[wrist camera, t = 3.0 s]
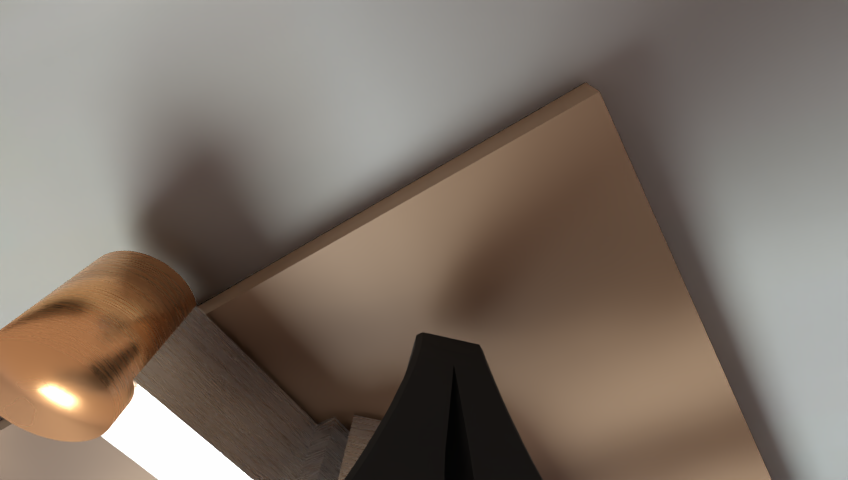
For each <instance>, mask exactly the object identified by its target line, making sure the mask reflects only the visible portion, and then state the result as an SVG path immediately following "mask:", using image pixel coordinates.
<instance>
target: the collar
mask: <svg viewBox="0 0 848 480" xmlns="http://www.w3.org/2000/svg"><path fill="white" fill-rule="evenodd" d="M0 416H1V417H3V418H4V419H6V420H7V421H9V422H10V423H12V424H14V425H16V426H17V427H19V428H21V429H24V430H26V431H28V432H30V433H33V434H35V435H38V436H42V437H45V438H49V439H53V440H58V441H66V442H82V441H88V440H92V439H95V438H98V437H100V436H102V437H103V438H104V439H106V440H107V441H108V442H110V443H111V444H112V445H114V446H115V447H116V448H118V449H119V450H120V451H122V452H123V453H124V454H126V455H127V456H128V457H130V458H131V459H132V460H134V461H135V462H136V463H138V464H139V465H140V466H142V467H143V468H144V469H145V470H147V471H148V472H149V473H151V474H152V475H153V476H155V477H156V478H157V479H159V480H344V479H345V477H346V476H347V475H348V473H349V472H350V470H351V469H352V467H353V466H354V464H355V463H356V461H357V460H358V458H359V457H360V455H361V454H362V452H363V450H364V449H365V447H366V446H367V444H368V442H369V441H370V439H371V437H372V436H373V434H374V432H375V431H376V429H377V427H378V426H379V424H380V422H381V421H380V420H376V419H371V418H366V417H362V416H357V415H354V417H353V421H352V425H351V429H350V430H349V429H348V428H347V427H346V426H345V425H344V424H343V423H342V422H341V421H340V420H339V419H338V418H337V417H336V416H335V417H332V418H330V419H328V420H325V421H323V422H320V423H318V424H317V423H316V422H315V421H314V420H313V419H312V418H311V417H309V416H308V415H307V414H306V413H305V412H304V411H303V410H302V409H301V408H300V407H299V406H298V405H297V404H296V403H295V402H294V401H293V400H292V399H291V398H290V397H289V396H288V395H287V394H286V393H285V392H284V391H283V390H282V389H281V388H280V387H279V386H278V385H277V384H276V383H275V382H274V381H273V380H272V379H271V378H270V377H269V376H268V375H267V374H266V373H265V372H264V371H263V370H262V369H261V368H260V367H259V366H258V365H256V364H255V363H254V362H253V361H252V360H251V359H250V358H249V357H248V356H247V355H246V354H245V353H244V352H243V351H242V350H241V349H240V348H239V347H238V346H237V345H236V344H235V343H234V342H233V341H232V340H231V339H230V338H229V337H228V336H227V335H226V334H225V333H224V332H223V331H222V330H221V329H220V328H219V327H218V326H217V325H216V324H215V323H214V322H213V321H212V320H211V319H210V318H209V317H208V316H207V315H206V314H205V313H203V312H202V311H201V310H200V309H199V308H198V307H197V306H196V301H195V298H194V295H193V293H192V291H191V289H190V288H189V286H188V285H187V283H186V282H185V281H184V279H183V278H182V277H181V276H180V275H179V274H178V273H177V272H176V271H174V270H173V269H172V268H171V267H169V266H168V265H166V264H165V263H163V262H161V261H160V260H158V259H156V258H154V257H151V256H148V255H146V254H142V253H138V252H133V251H116V252H111V253H108V254H105V255H103V256H101V257H100V258H98V259H97V260H96V261H94V262H93V263H91V264H90V265H89V266H87V267H86V268H85V269H83V270H82V271H81V272H79V273H78V274H76V275H75V276H74V277H72V278H71V279H70V280H68V281H67V282H65V283H64V284H63V285H61V286H60V287H59V288H57V289H56V290H54V291H53V292H52V293H50V294H49V295H48V296H46V297H45V298H43V299H42V300H41V301H39V302H38V303H37V304H35V305H34V306H32V307H31V308H30V309H28V310H27V311H26V312H24V313H23V314H21V315H20V316H19V317H17V318H16V319H15V320H13V321H12V322H10V323H9V324H8V325H6V326H5V327H4V328H2V329H1V330H0Z"/></svg>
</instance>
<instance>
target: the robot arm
mask: <svg viewBox="0 0 848 480" xmlns="http://www.w3.org/2000/svg"><path fill="white" fill-rule="evenodd" d="M344 480H543V479H542V477H541V475H540V473H539V471H538V470H537V468H536V466H535V464H534V462H533V461H532V459H531V457H530V455H529V453H528V451H527V449H526V447H525V445H524V443H523V441H522V439H521V437H520V435H519V433H518V431H517V429H516V427H515V425H514V422H513V420H512V418H511V416H510V414H509V412H508V410H507V408H506V405H505V403H504V401H503V399H502V396H501V394H500V392H499V389H498V387H497V385H496V383H495V380H494V378H493V375H492V373H491V370H490V368H489V365H488V363H487V360H486V358H485V355H484V352H483V350H482V348H481V346H480V345H479V344H475V343H470V342H466V341H461V340H457V339H452V338H448V337H443V336H439V335H434V334H429V333H425V332H422V333H420V334H417V335H416V338H415V341H414V345H413V349H412V352H411V356H410V359H409V363H408V367H407V370H406V373H405V376H404V378H403V380H402V382H401V384H400V386H399V388H398V390H397V392H396V394H395V396H394V398H393V400H392V402H391V404H390V406H389V408H388V410H387V412H386V414H385V415H384V417H383V419H382V420H381V422H380V424H379V426H378V427H377V429H376V431H375V432H374V434H373V436H372V437H371V439H370V441H369V442H368V444H367V446H366V447H365V449H364V450H363V452H362V454H361V455H360V457H359V458H358V460H357V461H356V463H355V464H354V466H353V467H352V469H351V470H350V472H349V473H348V475H347V476H346V477H345V479H344Z"/></svg>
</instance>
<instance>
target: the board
mask: <svg viewBox="0 0 848 480" xmlns="http://www.w3.org/2000/svg"><path fill="white" fill-rule="evenodd" d="M198 308H199V309H200V310H201V311H202V312H203V313H205V314H206V315H207V316H208V317H209V318H210V319H211V320H212V321H213V322H214V323H215V324H216V325H217V326H218V327H219V328H220V329H221V330H222V331H223V332H224V333H225V334H226V335H227V336H228V337H229V338H230V339H231V340H232V341H233V342H234V343H235V344H236V345H237V346H238V347H239V348H240V349H241V350H242V351H243V352H244V353H245V354H246V355H247V356H248V357H249V358H250V359H251V360H252V361H253V362H254V363H255V364H256V365H258V366H259V367H260V368H261V369H262V370H263V371H264V372H265V373H266V374H267V375H268V376H269V377H270V378H271V379H272V380H273V381H274V382H275V383H276V384H277V385H278V386H279V387H280V388H281V389H282V390H283V391H284V392H285V393H286V394H287V395H288V396H289V397H290V398H291V399H292V400H293V401H294V402H295V403H296V404H297V405H298V406H299V407H300V408H301V409H302V410H303V411H304V412H305V413H306V414H307V415H308V416H309V417H311V418H312V419H313V420H314V421H315V422H316V423H317V424H318V423H320V422H323V421H325V420H328V419H330V418H332V417H335V416H336V417H337V418H338V419H339V420H340V421H341V422H342V423H343V424H344V425H345V426H346V427H347V428H348V429H349V430H350V429H351V425H352V421H353V417H354V415H357V416H362V417H366V418H371V419H376V420H380V421H381V420H382V419H383V417H384V415H385V414H386V412H387V410H388V408H389V406H390V404H391V402H392V400H393V398H394V396H395V394H396V392H397V390H398V388H399V386H400V384H401V382H402V380H403V378H404V376H405V373H406V370H407V367H408V363H409V359H410V356H411V352H412V349H413V345H414V341H415V338H416V335H417V334H420V333H422V332H425V333H429V334H434V335H439V336H443V337H448V338H452V339H457V340H461V341H466V342H470V343H475V344H479V345H480V346H481V348H482V350H483V352H484V355H485V358H486V360H487V363H488V365H489V368H490V370H491V373H492V375H493V378H494V380H495V383H496V385H497V387H498V389H499V392H500V394H501V396H502V399H503V401H504V403H505V405H506V408H507V410H508V412H509V414H510V416H511V418H512V420H513V422H514V425H515V427H516V429H517V431H518V433H519V435H520V437H521V439H522V441H523V443H524V445H525V447H526V449H527V451H528V453H529V455H530V457H531V459H532V461H533V462H534V464H535V466H536V468H537V470H538V471H539V473H540V475H541V477H542V479H543V480H771V477H770V475H769V473H768V471H767V468H766V466H765V464H764V462H763V459H762V457H761V455H760V452H759V450H758V448H757V446H756V443H755V441H754V439H753V437H752V434H751V432H750V430H749V428H748V425H747V423H746V421H745V419H744V416H743V414H742V412H741V410H740V407H739V405H738V403H737V401H736V398H735V396H734V394H733V392H732V389H731V387H730V385H729V383H728V380H727V378H726V376H725V374H724V371H723V369H722V367H721V364H720V362H719V360H718V358H717V355H716V353H715V351H714V349H713V346H712V344H711V342H710V340H709V337H708V335H707V333H706V331H705V328H704V326H703V324H702V322H701V319H700V317H699V315H698V313H697V310H696V308H695V306H694V304H693V301H692V299H691V297H690V295H689V292H688V290H687V288H686V286H685V283H684V281H683V279H682V276H681V274H680V272H679V270H678V267H677V265H676V263H675V261H674V258H673V256H672V254H671V252H670V249H669V247H668V245H667V243H666V240H665V238H664V236H663V234H662V231H661V229H660V227H659V225H658V222H657V220H656V218H655V216H654V213H653V211H652V209H651V207H650V204H649V202H648V200H647V198H646V195H645V193H644V191H643V188H642V186H641V184H640V182H639V179H638V177H637V175H636V173H635V170H634V168H633V166H632V164H631V161H630V159H629V157H628V155H627V152H626V150H625V148H624V146H623V143H622V141H621V139H620V137H619V134H618V132H617V130H616V128H615V125H614V123H613V121H612V119H611V116H610V114H609V112H608V110H607V107H606V105H605V103H604V100H603V98H602V96H601V94H600V92H599V91H598V90H596V89H595V88H594V87H592V86H591V85H589V84H588V83H584V84H582V85H580V86H579V87H577V88H575V89H573V90H572V91H570V92H568V93H566V94H565V95H563V96H561V97H560V98H558V99H556V100H554V101H553V102H551V103H549V104H547V105H546V106H544V107H542V108H541V109H539V110H537V111H535V112H534V113H532V114H530V115H528V116H527V117H525V118H523V119H521V120H520V121H518V122H516V123H515V124H513V125H511V126H509V127H508V128H506V129H504V130H502V131H501V132H499V133H497V134H496V135H494V136H492V137H490V138H489V139H487V140H485V141H483V142H482V143H480V144H478V145H476V146H475V147H473V148H471V149H470V150H468V151H466V152H464V153H463V154H461V155H459V156H457V157H456V158H454V159H452V160H451V161H449V162H447V163H445V164H444V165H442V166H440V167H438V168H437V169H435V170H433V171H431V172H430V173H428V174H426V175H425V176H423V177H421V178H419V179H418V180H416V181H414V182H412V183H411V184H409V185H407V186H406V187H404V188H402V189H400V190H399V191H397V192H395V193H393V194H392V195H390V196H388V197H386V198H385V199H383V200H381V201H380V202H378V203H376V204H374V205H373V206H371V207H369V208H367V209H366V210H364V211H362V212H361V213H359V214H357V215H355V216H354V217H352V218H350V219H348V220H347V221H345V222H343V223H341V224H340V225H338V226H336V227H335V228H333V229H331V230H329V231H328V232H326V233H324V234H322V235H321V236H319V237H317V238H316V239H314V240H312V241H310V242H309V243H307V244H305V245H303V246H302V247H300V248H298V249H296V250H295V251H293V252H291V253H290V254H288V255H286V256H284V257H283V258H281V259H279V260H277V261H276V262H274V263H272V264H271V265H269V266H267V267H265V268H264V269H262V270H260V271H258V272H257V273H255V274H253V275H251V276H250V277H248V278H246V279H245V280H243V281H241V282H239V283H238V284H236V285H234V286H232V287H231V288H229V289H227V290H226V291H224V292H222V293H220V294H219V295H217V296H215V297H213V298H212V299H210V300H208V301H206V302H205V303H203V304H201V305H200V306H198ZM0 480H159V479H157V478H156V477H155V476H153V475H152V474H151V473H149V472H148V471H147V470H145V469H144V468H143V467H142V466H140V465H139V464H138V463H136V462H135V461H134V460H132V459H131V458H130V457H128V456H127V455H126V454H124V453H123V452H122V451H120V450H119V449H118V448H116V447H115V446H114V445H112V444H111V443H110V442H108V441H107V440H106V439H104V438H103V437H102V436H100V437H98V438H95V439H92V440H88V441H82V442H66V441H58V440H53V439H49V438H45V437H42V436H38V435H35V434H33V433H30V432H28V431H26V430H24V429H21V428H19V427H17V426H16V425H14V424H12V423H10V422H9V421H7V420H6V419H2V420H1V421H0Z"/></svg>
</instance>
